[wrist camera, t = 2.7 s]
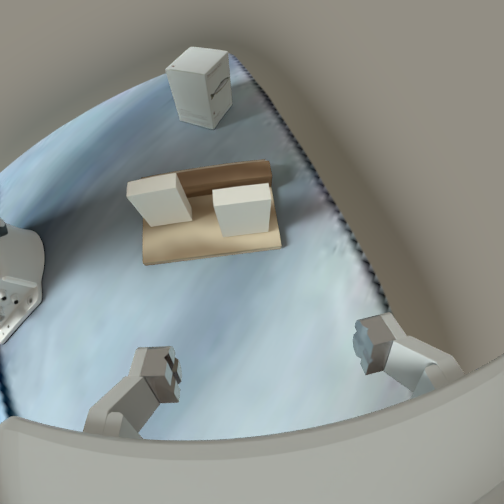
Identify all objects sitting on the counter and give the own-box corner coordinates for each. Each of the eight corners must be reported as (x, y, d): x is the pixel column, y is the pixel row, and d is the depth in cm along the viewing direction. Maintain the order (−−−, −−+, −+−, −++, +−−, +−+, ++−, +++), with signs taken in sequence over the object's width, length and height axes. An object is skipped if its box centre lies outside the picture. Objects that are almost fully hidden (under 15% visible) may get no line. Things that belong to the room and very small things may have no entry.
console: (280, 248, 39) (283, 237, 35) (145, 265, 39) (134, 257, 35) (267, 173, 43) (268, 157, 39) (146, 190, 42) (137, 176, 38)
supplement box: (214, 131, 46) (204, 75, 34) (179, 121, 47) (163, 68, 35) (234, 105, 48) (229, 50, 36) (200, 96, 49) (189, 45, 37)
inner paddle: (192, 220, 39) (175, 187, 30) (151, 227, 39) (126, 196, 30) (191, 207, 39) (175, 172, 31) (151, 214, 39) (127, 182, 31)
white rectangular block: (268, 231, 38) (271, 199, 29) (223, 237, 38) (213, 206, 29) (266, 218, 39) (268, 183, 30) (221, 223, 39) (212, 189, 30)
